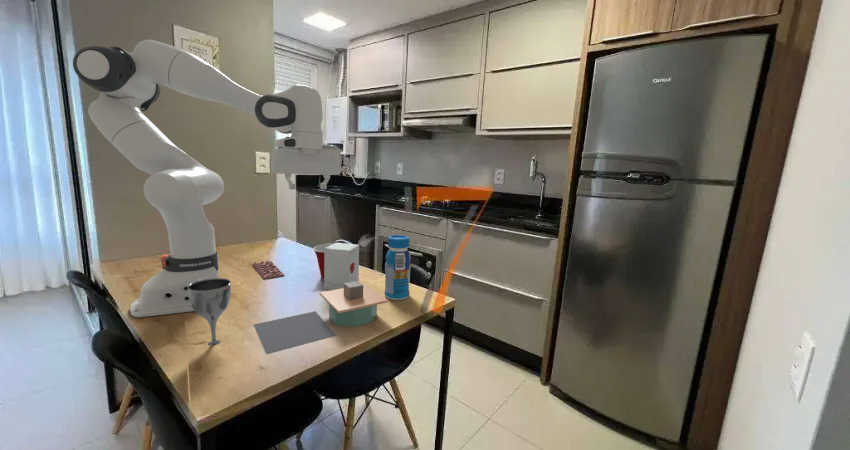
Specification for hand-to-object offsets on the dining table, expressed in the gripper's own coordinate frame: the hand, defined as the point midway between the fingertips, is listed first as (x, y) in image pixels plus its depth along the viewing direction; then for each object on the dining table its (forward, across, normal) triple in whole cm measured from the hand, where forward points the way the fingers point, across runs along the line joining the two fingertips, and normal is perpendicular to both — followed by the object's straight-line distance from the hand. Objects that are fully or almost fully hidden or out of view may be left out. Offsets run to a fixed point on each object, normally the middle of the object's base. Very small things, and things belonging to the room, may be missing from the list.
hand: (308, 189), depth 104 cm
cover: (+28, -5, +23) cm, 37 cm away
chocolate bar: (+35, +7, -31) cm, 47 cm away
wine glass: (+34, +28, +20) cm, 49 cm away
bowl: (+34, -5, +23) cm, 41 cm away
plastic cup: (+34, -11, -13) cm, 38 cm away
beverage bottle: (+34, -24, +15) cm, 44 cm away
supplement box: (+34, -11, 0) cm, 36 cm away
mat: (+34, +11, +23) cm, 43 cm away
